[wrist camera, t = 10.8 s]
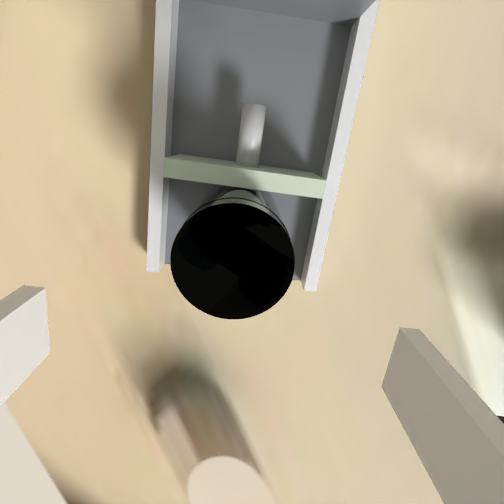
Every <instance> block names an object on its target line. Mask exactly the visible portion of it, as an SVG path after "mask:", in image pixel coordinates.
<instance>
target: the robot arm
mask: <svg viewBox="0 0 504 504" xmlns="http://www.w3.org/2000/svg"><path fill="white" fill-rule="evenodd" d="M49 353H50V343H49V329H48V315H47V302H46V288H43V287H34V286H25V285H23V286H22V287H20V288H19V289H17V290H16V291H14V292H13V293H11V294H10V295H8V296H6V297H5V298H3V299H2V300H0V406H1V405H2V404H3V403H4V402H5V401H6V400H7V399H8V398H9V396H10V395H11V394H12V393H13V392H14V391H15V390H16V389H17V388H18V387H19V386H20V385H21V384H22V382H23V381H24V380H25V379H26V378H27V377H28V376H29V375H30V374H31V373H32V372H33V371H34V370H35V368H36V367H37V366H38V365H39V364H40V363H41V362H42V361H43V360H44V359H45V358H46V357H47V356H48V354H49ZM382 388H383V390H384V392H385V394H386V396H387V398H388V400H389V401H390V403H391V405H392V407H393V409H394V411H395V413H396V414H397V416H398V418H399V420H400V422H401V424H402V426H403V428H404V429H405V431H406V433H407V435H408V437H409V439H410V441H411V442H412V444H413V446H414V448H415V450H416V452H417V454H418V456H419V457H420V459H421V461H422V463H423V465H424V467H425V469H426V471H427V472H428V474H429V476H430V478H431V480H432V482H433V484H434V485H435V487H436V489H437V491H438V493H439V495H440V497H441V499H442V500H443V502H444V504H504V417H503V416H496V415H495V414H494V412H493V411H492V410H491V409H490V408H489V407H488V406H487V405H486V403H485V402H484V401H483V400H482V399H481V398H480V397H479V396H478V395H477V393H476V392H475V391H474V390H473V389H472V388H471V387H470V386H469V384H468V383H467V382H466V381H465V380H464V379H463V378H462V377H461V376H460V374H459V373H458V372H457V371H456V370H455V369H454V368H453V367H452V365H451V364H450V363H449V362H448V361H447V360H446V359H445V358H444V356H443V355H442V354H441V353H440V352H439V351H438V350H437V349H436V348H435V346H434V345H433V344H432V343H431V342H430V341H429V340H428V339H427V337H426V336H425V335H424V334H423V333H422V332H421V331H420V330H419V329H410V328H401V327H400V328H399V332H398V335H397V338H396V341H395V345H394V348H393V351H392V354H391V358H390V361H389V364H388V367H387V370H386V374H385V377H384V380H383V383H382Z"/></svg>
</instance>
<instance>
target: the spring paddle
mask: <svg viewBox="0 0 504 504" xmlns="http://www.w3.org/2000/svg"><path fill="white" fill-rule="evenodd" d="M265 114H266V106H263V105H258V104H251V103H243V105H242V114H241V123H240V131H239V140H238V148H237V157H236V162H235V161H228V160H220V159H213V158H206V157H199V156H192V155H185V154H178V155H174V156H170V157H166V158H165V159H164V177H166V178H174V179H181V180H188V181H196V182H203V183H210V184H218V185H225V186H232V187H240V188H247V189H254V190H262V191H269V192H276V193H283V194H291V195H298V196H305V197H313V198H320V199H323V194H324V190H325V185H326V180H325V179H323V178H321V177H320V176H318V175H316V174H315V173H313V172H306V171H299V170H292V169H285V168H277V167H270V166H263V165H258V164H259V157H260V150H261V142H262V135H263V128H264V121H265Z"/></svg>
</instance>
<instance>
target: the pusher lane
mask: <svg viewBox="0 0 504 504" xmlns="http://www.w3.org/2000/svg"><path fill="white" fill-rule="evenodd" d="M379 1H380V0H156V16H155V44H154V72H153V99H152V127H151V155H150V183H149V211H148V238H147V266H146V271H150V272H159V271H160V270H161V268H162V267H163V265H164V264H170V257H171V249H172V245H173V242H174V239H175V237H176V235H177V233H178V232H179V230H180V228H181V227H182V226H183V224H184V222H185V221H186V220H187V218H188V217H189V216H190V215H191V214H192V213H193V212H194V211H195V209H196V208H197V207H198V205H199V204H200V203H201V201H202V200H203V199H204V197H205V196H206V195H207V194H208V193H209V192H210V190H212V189H213V188H214V187H216V186H217V185H218V184H210V183H203V182H196V181H188V180H181V179H174V178H166V177H164V159H165V158H166V157H170V156H174V155H178V154H185V155H192V156H199V157H206V158H213V159H220V160H228V161H235V162H236V157H237V148H238V140H239V131H240V123H241V114H242V105H243V103H251V104H258V105H263V106H266V114H265V121H264V128H263V135H262V142H261V150H260V157H259V164H258V165H263V166H270V167H277V168H285V169H292V170H299V171H306V172H313V173H315V174H316V175H318V176H320V177H321V178H323V179H325V180H326V185H325V190H324V194H323V199H320V198H313V197H305V196H298V195H291V194H283V193H276V192H269V191H267V192H268V193H269V194H270V195H271V196H272V197H273V199H274V201H275V203H276V205H277V207H278V210H279V213H280V215H281V218H282V221H283V223H284V225H285V227H286V229H287V231H288V234H289V236H290V239H291V243H292V246H293V250H294V255H295V269H294V275H293V278H292V280H300V281H301V283H302V286H303V289H304V290H305V291H313V292H316V289H317V284H318V279H319V275H320V270H321V266H322V261H323V257H324V252H325V248H326V243H327V238H328V234H329V229H330V225H331V220H332V216H333V211H334V206H335V202H336V197H337V193H338V188H339V184H340V179H341V175H342V170H343V165H344V161H345V156H346V152H347V147H348V143H349V138H350V134H351V129H352V124H353V120H354V115H355V111H356V106H357V102H358V97H359V92H360V88H361V83H362V79H363V74H364V70H365V65H366V61H367V56H368V51H369V47H370V42H371V38H372V33H373V29H374V24H375V19H376V15H377V10H378V6H379Z"/></svg>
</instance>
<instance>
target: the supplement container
mask: <svg viewBox="0 0 504 504" xmlns="http://www.w3.org/2000/svg"><path fill="white" fill-rule="evenodd" d="M170 264H171V271H172V275H173V278H174V281H175V283H176V285H177V287H178V289H179V290H180V292H181V293H182V295H183V296H184V297H185V298H186V299H187V300H188V301H189V302H190V303H191V304H192V305H193V306H195V307H196V308H198V309H199V310H201V311H203V312H205V313H207V314H209V315H212V316H215V317H219V318H224V319H244V318H249V317H252V316H256V315H258V314H261V313H263V312H265V311H266V310H268V309H270V308H271V307H272V306H274V305H275V304H276V303H277V302H278V301H279V300H280V299H281V298H282V297H283V296H284V294H285V293H286V291H287V289H288V288H289V286H290V283H291V281H292V278H293V275H294V269H295V255H294V250H293V246H292V243H291V239H290V236H289V234H288V231H287V229H286V227H285V225H284V223H283V221H282V218H281V215H280V213H279V210H278V207H277V205H276V203H275V201H274V199H273V197H272V196H271V195H270V194H269V193H268V192H267V191H262V190H254V189H247V188H240V187H232V186H225V185H217V186H216V187H214V188H213V189H212V190H210V192H209V193H208V194H207V195H206V196H205V197H204V199H203V200H202V201H201V203H200V204H199V205H198V207H197V208H196V209H195V211H194V212H193V213H192V214H191V215H190V216H189V217H188V218H187V220H186V221H185V222H184V224H183V226H182V227H181V228H180V230H179V232H178V233H177V235H176V237H175V239H174V242H173V245H172V249H171V257H170Z"/></svg>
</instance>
